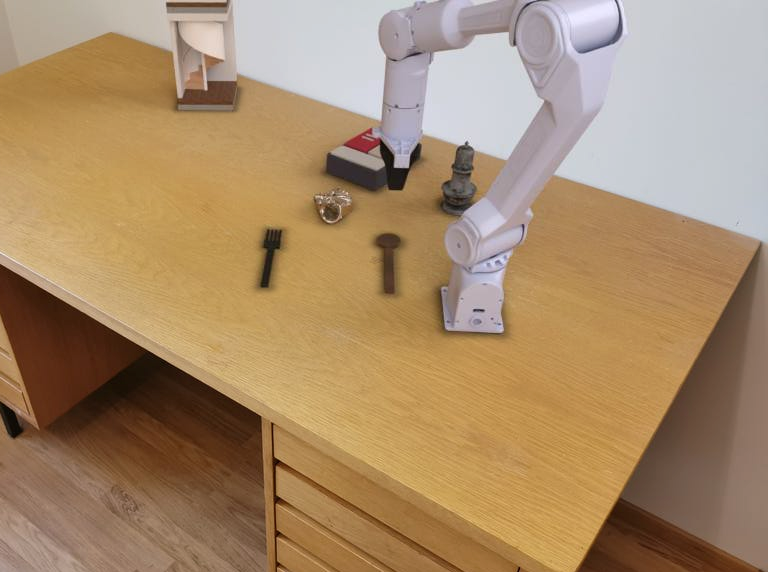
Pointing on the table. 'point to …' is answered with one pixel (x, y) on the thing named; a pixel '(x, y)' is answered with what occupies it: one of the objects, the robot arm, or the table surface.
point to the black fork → (270, 254)
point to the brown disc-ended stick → (389, 258)
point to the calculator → (360, 161)
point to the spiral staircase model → (203, 53)
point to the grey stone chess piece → (459, 183)
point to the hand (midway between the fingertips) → (395, 188)
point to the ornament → (333, 204)
